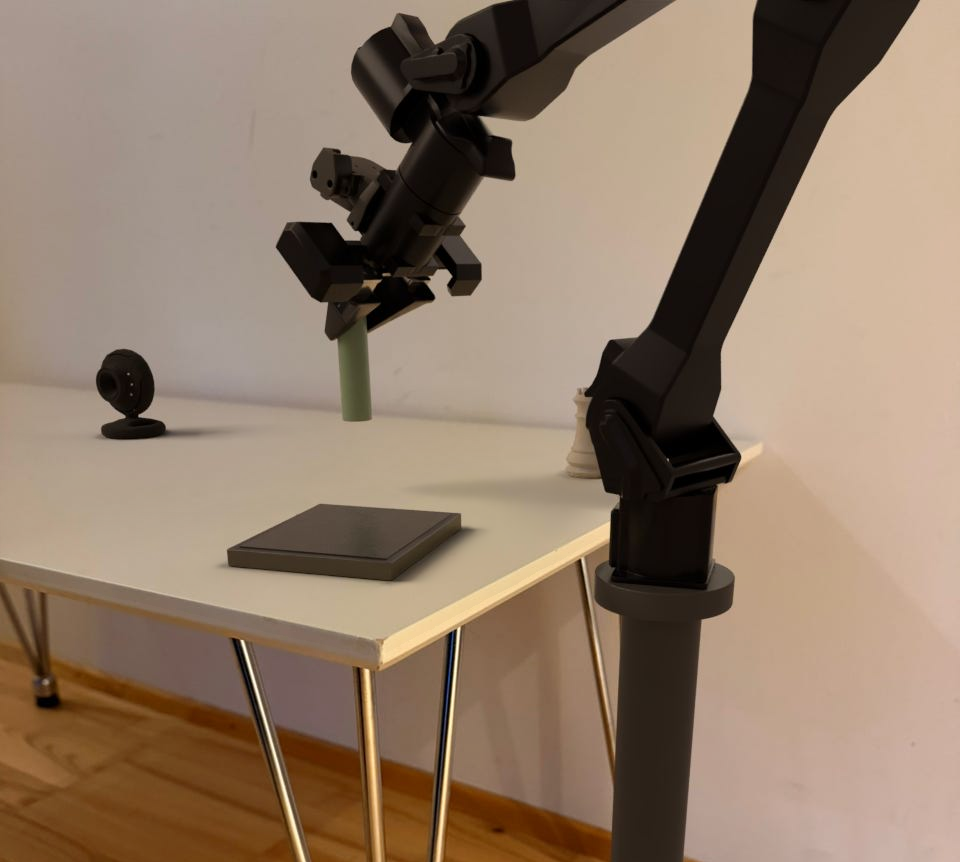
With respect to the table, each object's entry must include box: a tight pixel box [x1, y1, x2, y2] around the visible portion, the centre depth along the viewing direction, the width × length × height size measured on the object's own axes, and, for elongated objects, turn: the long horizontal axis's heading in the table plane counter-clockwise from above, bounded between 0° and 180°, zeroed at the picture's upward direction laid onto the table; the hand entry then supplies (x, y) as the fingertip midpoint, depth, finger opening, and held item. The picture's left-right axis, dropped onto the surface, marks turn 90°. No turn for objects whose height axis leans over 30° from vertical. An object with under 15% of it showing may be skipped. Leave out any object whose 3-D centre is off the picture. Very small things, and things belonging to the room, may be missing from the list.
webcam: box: [95, 348, 167, 440], centre depth 118 cm, size 8×8×10 cm
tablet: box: [226, 503, 462, 581], centre depth 71 cm, size 12×14×1 cm
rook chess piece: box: [564, 386, 601, 479], centre depth 93 cm, size 4×4×8 cm
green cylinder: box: [336, 316, 373, 423], centre depth 84 cm, size 3×3×13 cm
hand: (341, 335), depth 85 cm, fingers closed on green cylinder, 2 cm apart
